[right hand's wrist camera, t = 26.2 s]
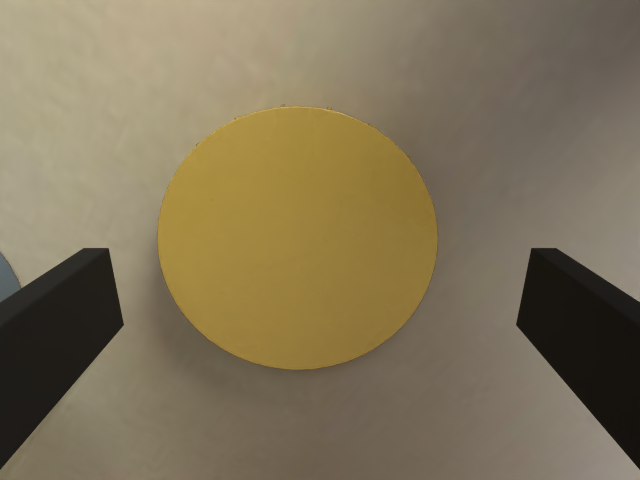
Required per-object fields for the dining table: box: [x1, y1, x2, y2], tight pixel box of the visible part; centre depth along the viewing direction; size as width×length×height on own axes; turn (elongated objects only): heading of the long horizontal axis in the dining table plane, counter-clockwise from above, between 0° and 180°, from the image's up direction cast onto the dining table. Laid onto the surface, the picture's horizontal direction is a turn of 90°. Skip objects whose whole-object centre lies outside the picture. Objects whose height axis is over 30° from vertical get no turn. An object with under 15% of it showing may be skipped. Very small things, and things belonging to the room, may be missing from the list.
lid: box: [157, 104, 438, 370], centre depth 17 cm, size 12×12×2 cm
